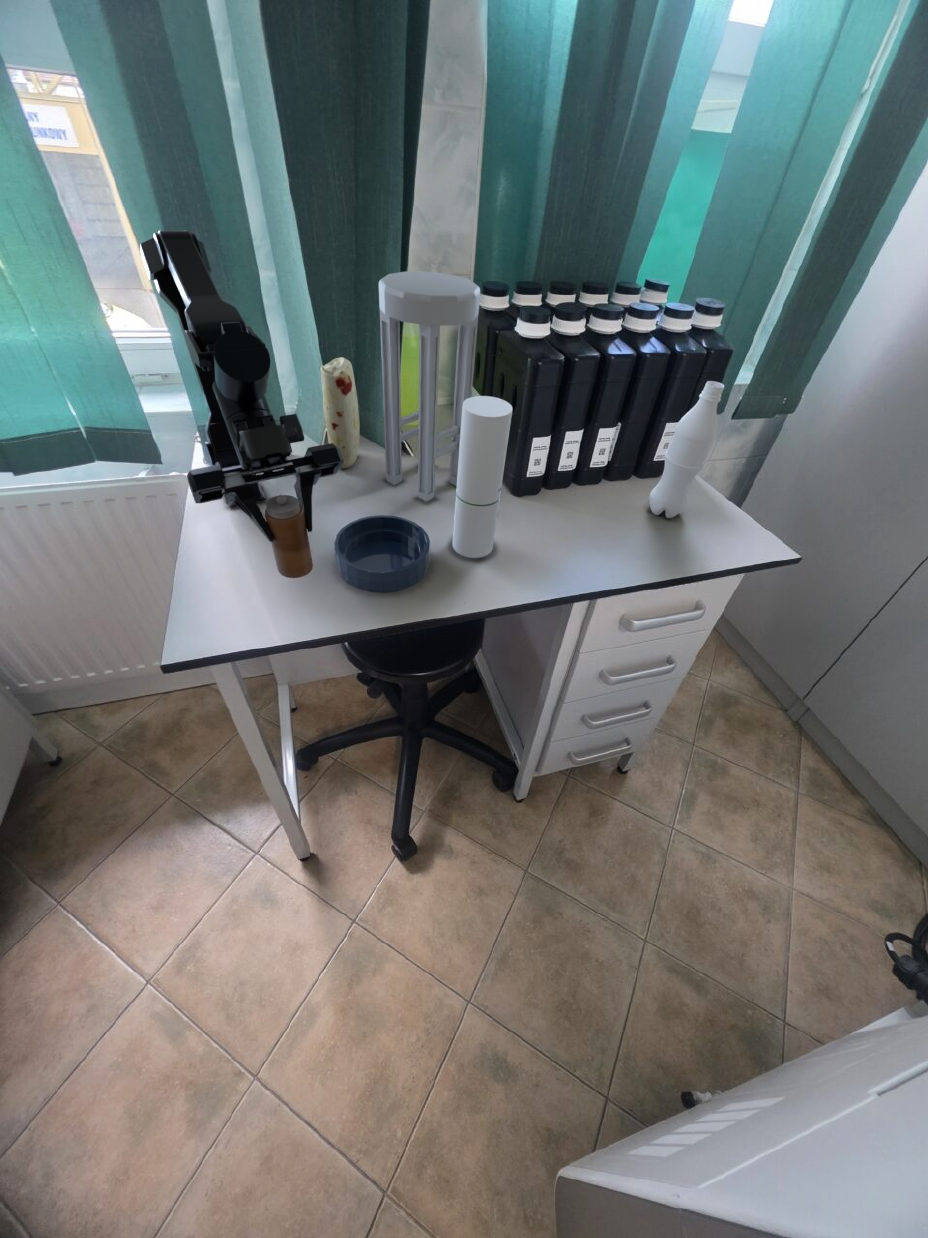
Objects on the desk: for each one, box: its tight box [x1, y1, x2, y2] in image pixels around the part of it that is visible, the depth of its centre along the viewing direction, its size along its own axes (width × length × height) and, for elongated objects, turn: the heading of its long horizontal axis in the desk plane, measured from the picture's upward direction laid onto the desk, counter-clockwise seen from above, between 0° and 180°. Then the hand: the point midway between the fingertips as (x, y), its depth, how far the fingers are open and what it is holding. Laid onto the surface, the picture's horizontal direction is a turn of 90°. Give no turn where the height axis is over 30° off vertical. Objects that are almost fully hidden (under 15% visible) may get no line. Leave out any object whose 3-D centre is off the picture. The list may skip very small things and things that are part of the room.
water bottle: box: [648, 380, 725, 519], centre depth 94 cm, size 7×7×25 cm
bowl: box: [333, 514, 431, 593], centre depth 83 cm, size 15×15×4 cm
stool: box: [378, 270, 481, 502], centre depth 92 cm, size 16×16×35 cm
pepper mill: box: [263, 494, 314, 579], centre depth 67 cm, size 5×5×12 cm
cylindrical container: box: [452, 395, 513, 559], centre depth 81 cm, size 7×7×25 cm
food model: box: [319, 356, 361, 469], centre depth 100 cm, size 10×7×20 cm
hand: (291, 536), depth 66 cm, fingers closed on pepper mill, 5 cm apart
